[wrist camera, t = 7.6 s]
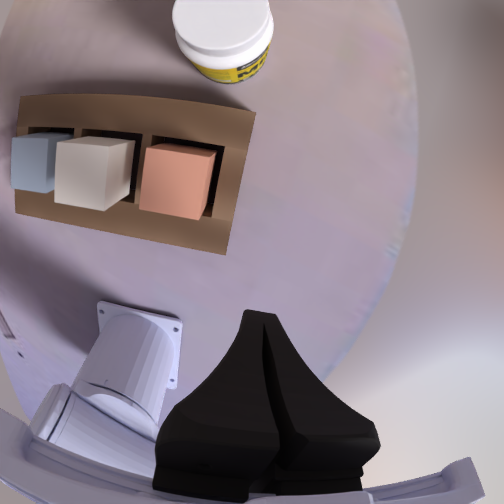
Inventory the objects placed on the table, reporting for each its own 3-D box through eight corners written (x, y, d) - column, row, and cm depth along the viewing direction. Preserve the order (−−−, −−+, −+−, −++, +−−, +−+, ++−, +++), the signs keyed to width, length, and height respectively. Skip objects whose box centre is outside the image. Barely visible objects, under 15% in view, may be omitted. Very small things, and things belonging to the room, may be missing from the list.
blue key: (74, 180, 18) (45, 193, 15) (40, 176, 18) (10, 188, 14) (78, 133, 17) (48, 138, 13) (43, 131, 16) (12, 137, 13)
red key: (207, 202, 19) (198, 220, 16) (157, 193, 19) (139, 209, 15) (217, 150, 18) (210, 157, 14) (165, 142, 17) (146, 147, 14)
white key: (129, 193, 18) (104, 211, 14) (84, 186, 17) (54, 202, 14) (135, 140, 16) (109, 146, 13) (88, 136, 16) (56, 142, 13)
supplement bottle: (246, 96, 18) (244, 77, 10) (183, 70, 17) (141, 40, 9) (279, 38, 16) (298, -10, 8) (215, 13, 15) (196, -44, 7)
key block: (228, 237, 22) (225, 255, 19) (36, 201, 20) (15, 213, 18) (255, 114, 18) (256, 112, 16) (43, 96, 17) (20, 96, 14)
